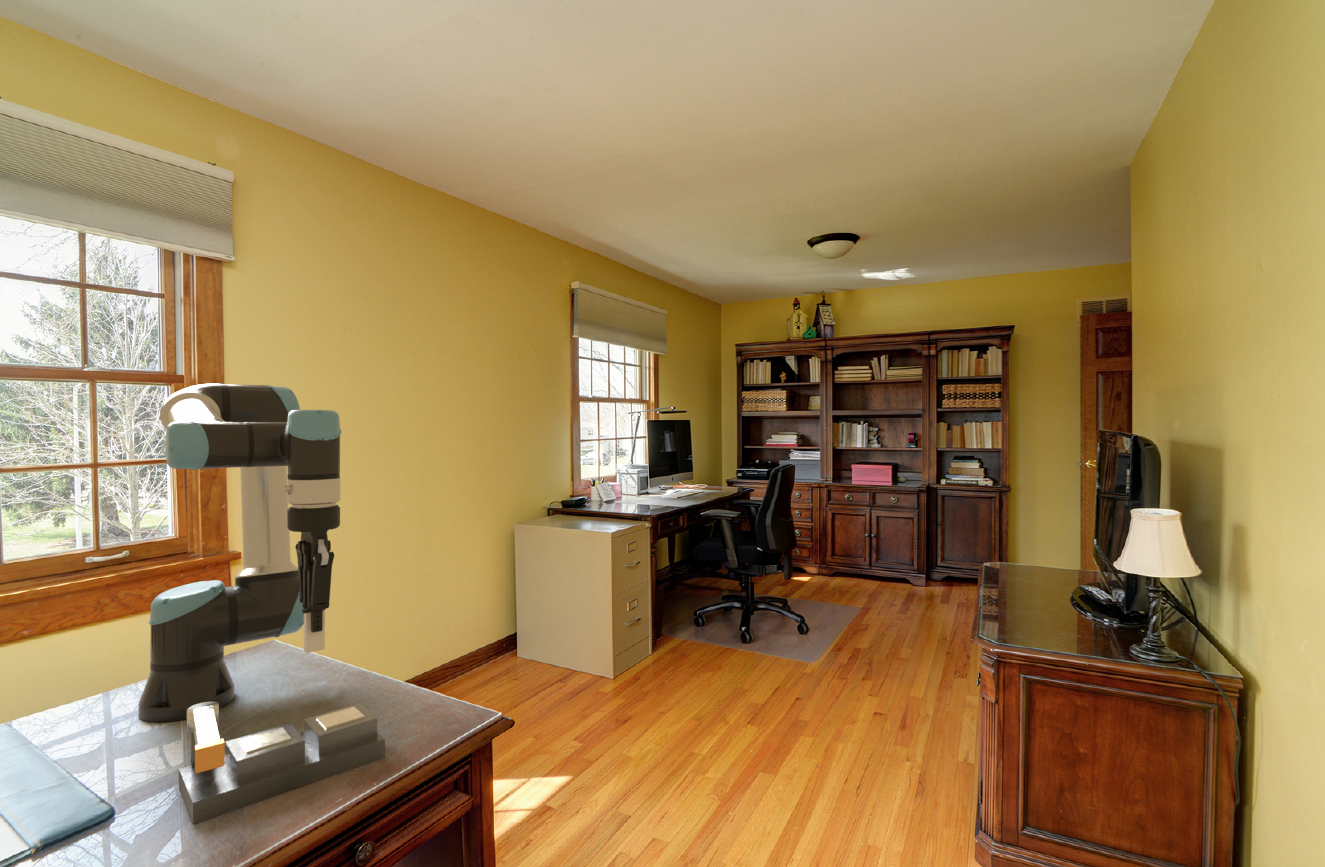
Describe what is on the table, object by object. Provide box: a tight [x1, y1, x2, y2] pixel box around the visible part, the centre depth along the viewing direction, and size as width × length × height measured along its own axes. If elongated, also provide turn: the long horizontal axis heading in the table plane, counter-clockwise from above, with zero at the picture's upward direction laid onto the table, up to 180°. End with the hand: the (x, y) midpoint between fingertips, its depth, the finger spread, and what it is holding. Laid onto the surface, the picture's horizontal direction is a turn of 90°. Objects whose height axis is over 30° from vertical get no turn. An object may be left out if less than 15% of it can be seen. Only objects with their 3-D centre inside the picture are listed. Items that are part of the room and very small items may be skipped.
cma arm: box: [186, 702, 225, 773], centre depth 93 cm, size 18×4×3 cm, turn 39°
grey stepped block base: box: [178, 702, 386, 825], centre depth 102 cm, size 14×26×8 cm, turn 135°
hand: (314, 649), depth 104 cm, fingers closed
